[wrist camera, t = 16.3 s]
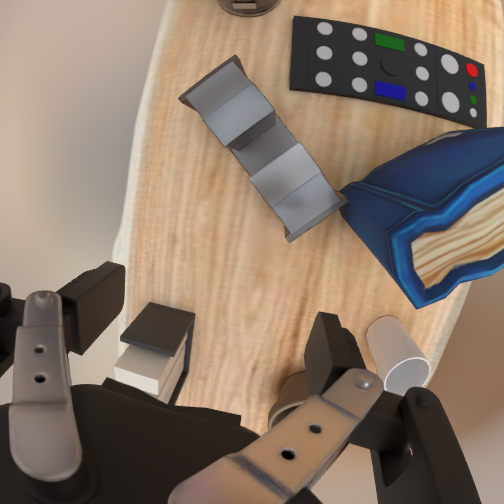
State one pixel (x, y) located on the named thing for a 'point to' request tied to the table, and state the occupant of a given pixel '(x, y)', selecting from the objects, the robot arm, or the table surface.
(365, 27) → the remote control
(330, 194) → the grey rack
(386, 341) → the mug
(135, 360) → the white book
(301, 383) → the flower pot
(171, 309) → the dark book holder
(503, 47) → the table surface
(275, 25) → the table surface
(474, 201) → the book
